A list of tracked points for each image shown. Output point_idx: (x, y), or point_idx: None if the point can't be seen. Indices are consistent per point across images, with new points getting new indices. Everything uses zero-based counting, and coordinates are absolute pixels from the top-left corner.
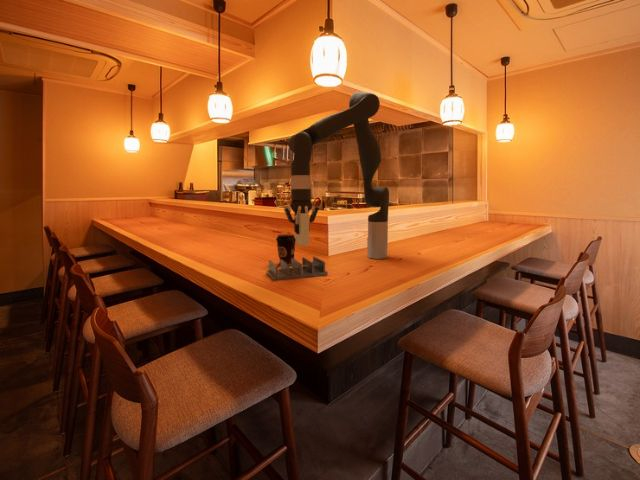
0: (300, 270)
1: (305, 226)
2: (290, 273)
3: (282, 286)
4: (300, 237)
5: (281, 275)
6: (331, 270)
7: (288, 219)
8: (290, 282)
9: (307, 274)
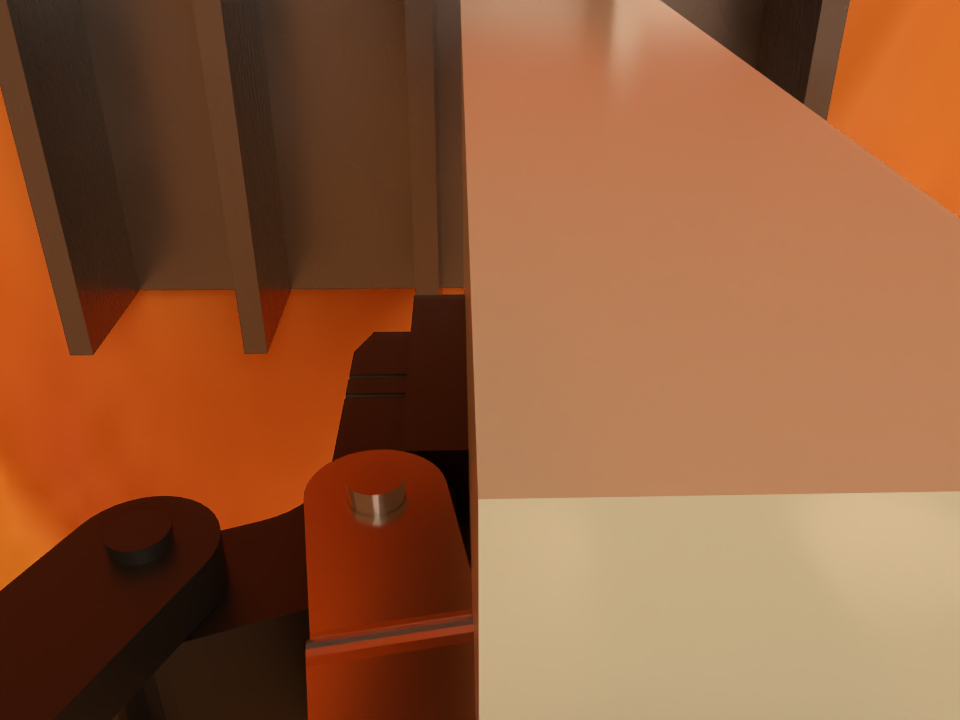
0: None
1: None
2: (316, 186)
3: (181, 484)
4: None
5: (190, 238)
6: (941, 67)
7: (4, 637)
8: (276, 394)
9: None
